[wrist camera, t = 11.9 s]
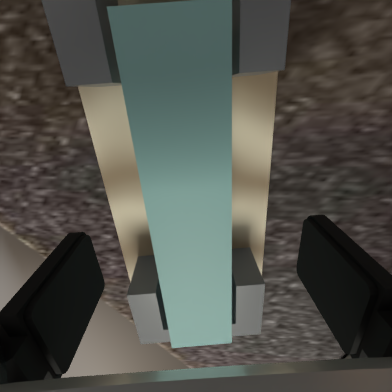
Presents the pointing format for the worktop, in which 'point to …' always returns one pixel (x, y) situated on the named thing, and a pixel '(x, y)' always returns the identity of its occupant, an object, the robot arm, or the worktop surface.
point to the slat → (183, 153)
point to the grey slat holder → (109, 76)
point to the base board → (241, 161)
